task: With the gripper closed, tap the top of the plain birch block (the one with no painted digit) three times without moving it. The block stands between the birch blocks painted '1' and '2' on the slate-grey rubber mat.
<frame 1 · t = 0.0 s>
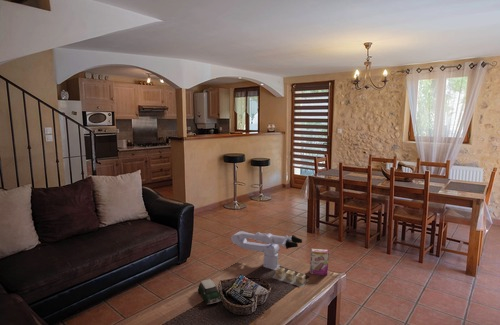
hand: (299, 243, 202), 22 cm above the table, tool horizontal, fingers open, 7 cm apart
miniature car: (209, 297, 179), on the table
candy bar box: (318, 274, 207), on the table
block one: (280, 275, 202), point 1 cm above the table, touching mat
plain block: (290, 278, 199), point 1 cm above the table, touching mat
mat: (290, 279, 199), on the table
block two: (300, 281, 195), point 1 cm above the table, touching mat
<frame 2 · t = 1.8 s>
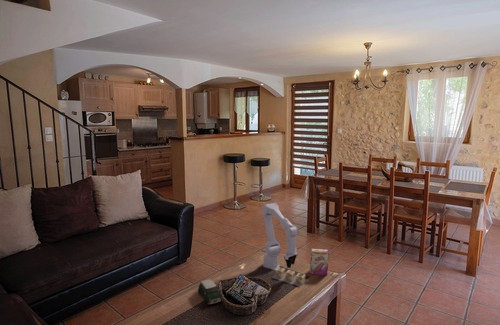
hand: (290, 265, 197), 9 cm above the table, tool pointing down, fingers open, 5 cm apart
nothing on the table moved.
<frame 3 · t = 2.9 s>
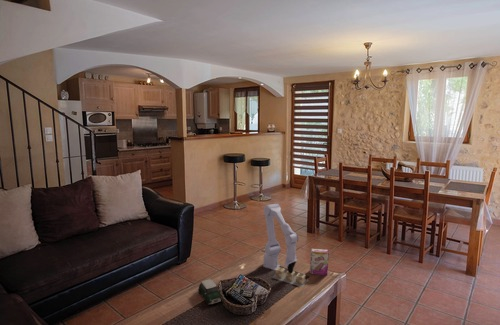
hand: (290, 272, 198), 5 cm above the table, tool pointing down, fingers closed, pressing on plain block
plain block: (290, 278, 199), point 1 cm above the table, touching gripper, mat
everything else where it was.
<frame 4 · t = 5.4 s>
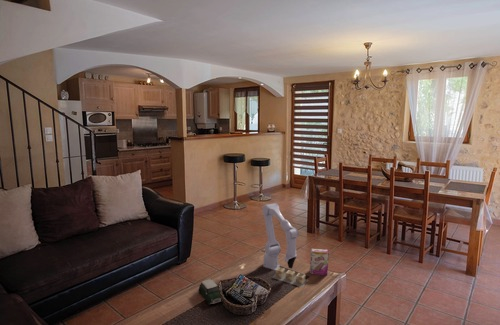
hand: (290, 267, 197), 8 cm above the table, tool pointing down, fingers closed
plain block: (290, 278, 199), point 1 cm above the table, touching mat
everything else where it was.
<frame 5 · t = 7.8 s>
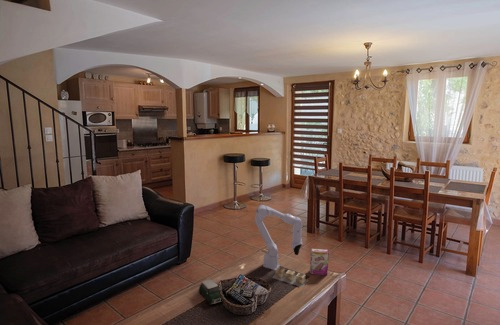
hand: (296, 254, 213), 9 cm above the table, tool pointing down, fingers closed
at the end: plain block moved 0.0 cm from its start; plain block tilted 0°; block two moved 0.0 cm from its start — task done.
